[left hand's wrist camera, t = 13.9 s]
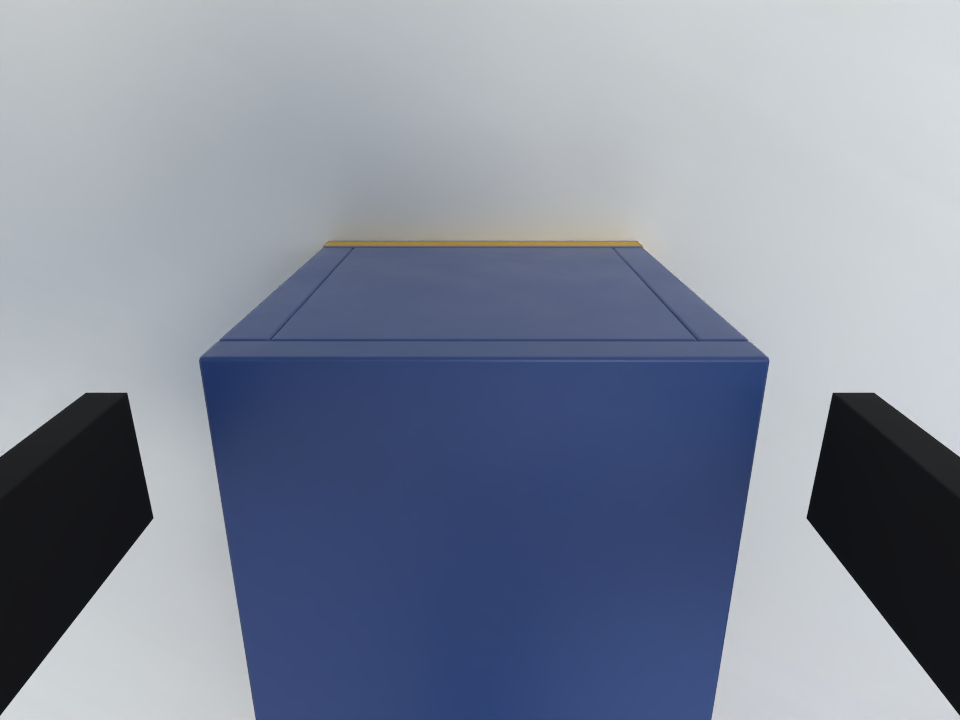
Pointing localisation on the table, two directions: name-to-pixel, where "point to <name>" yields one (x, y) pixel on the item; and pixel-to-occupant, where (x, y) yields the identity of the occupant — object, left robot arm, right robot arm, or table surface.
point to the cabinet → (483, 483)
